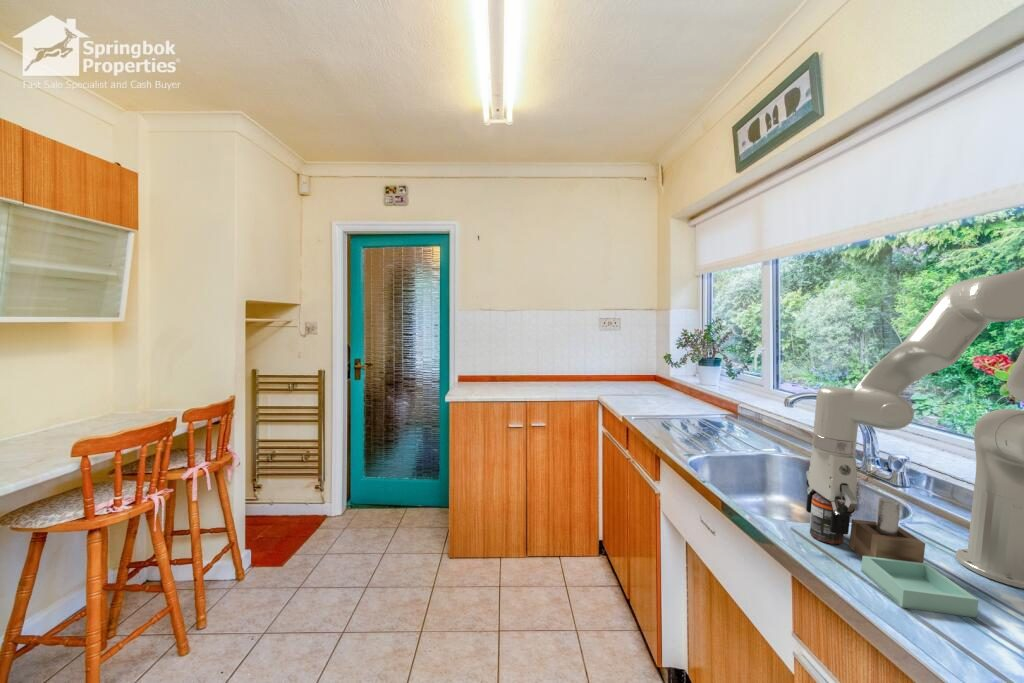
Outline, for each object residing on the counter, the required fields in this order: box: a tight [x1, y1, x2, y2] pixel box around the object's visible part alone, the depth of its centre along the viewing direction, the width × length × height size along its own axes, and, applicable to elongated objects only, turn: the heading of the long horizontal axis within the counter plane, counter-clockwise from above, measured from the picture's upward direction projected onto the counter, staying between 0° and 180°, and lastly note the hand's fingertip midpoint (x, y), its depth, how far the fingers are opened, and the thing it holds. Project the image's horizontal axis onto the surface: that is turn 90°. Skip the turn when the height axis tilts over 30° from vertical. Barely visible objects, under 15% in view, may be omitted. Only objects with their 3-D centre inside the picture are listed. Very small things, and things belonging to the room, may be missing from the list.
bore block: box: [849, 518, 926, 563], centre depth 86 cm, size 8×8×6 cm
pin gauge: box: [876, 497, 901, 537], centre depth 86 cm, size 3×3×12 cm
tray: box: [860, 556, 979, 618], centre depth 75 cm, size 11×11×3 cm
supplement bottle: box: [809, 492, 845, 545], centre depth 94 cm, size 6×6×11 cm
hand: (825, 522), depth 94 cm, fingers open, 9 cm apart
